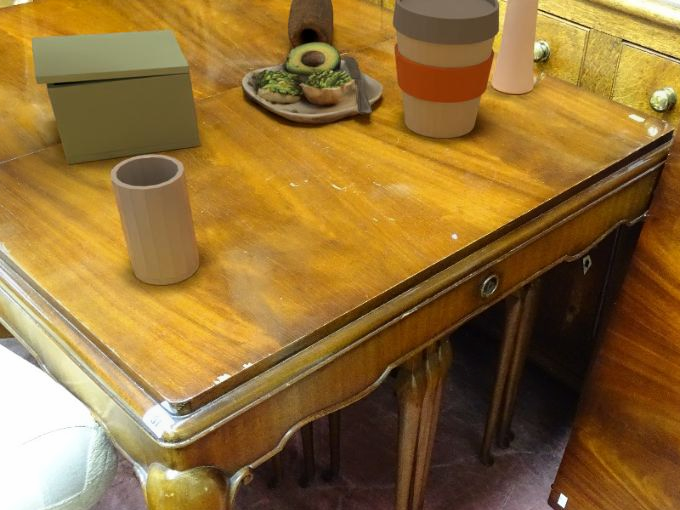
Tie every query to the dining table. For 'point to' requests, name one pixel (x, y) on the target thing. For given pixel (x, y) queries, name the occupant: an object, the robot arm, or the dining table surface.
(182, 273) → the pinkish-brown cup
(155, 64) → the box lid
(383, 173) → the dining table surface
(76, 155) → the storage box
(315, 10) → the stone weight
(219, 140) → the dining table surface
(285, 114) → the avocado toast plate
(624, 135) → the dining table surface
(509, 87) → the cosmetic bottle
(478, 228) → the dining table surface
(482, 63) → the reusable coffee cup
